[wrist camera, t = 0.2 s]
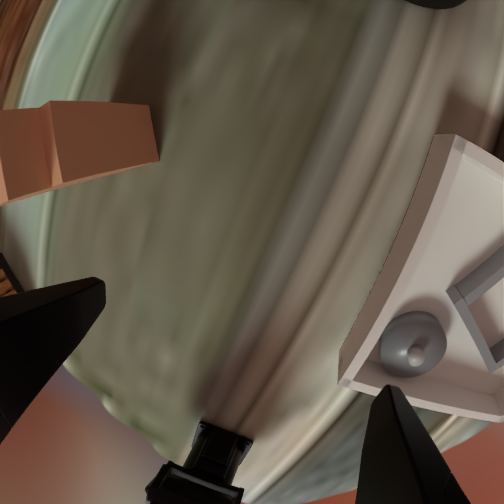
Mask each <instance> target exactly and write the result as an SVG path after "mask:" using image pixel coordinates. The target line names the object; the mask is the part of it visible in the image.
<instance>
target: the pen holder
mask: <svg viewBox="0 0 504 504" xmlns="http://www.w3.org/2000/svg"><path fill="white" fill-rule="evenodd" d="M405 1H408V2H410V3H412V4H415V5H419V6H422V7H427V8H433V9H447V8H452V7H455V6H458V5H460V4H461V3H463V2H464V1H466V0H405Z"/></svg>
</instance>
